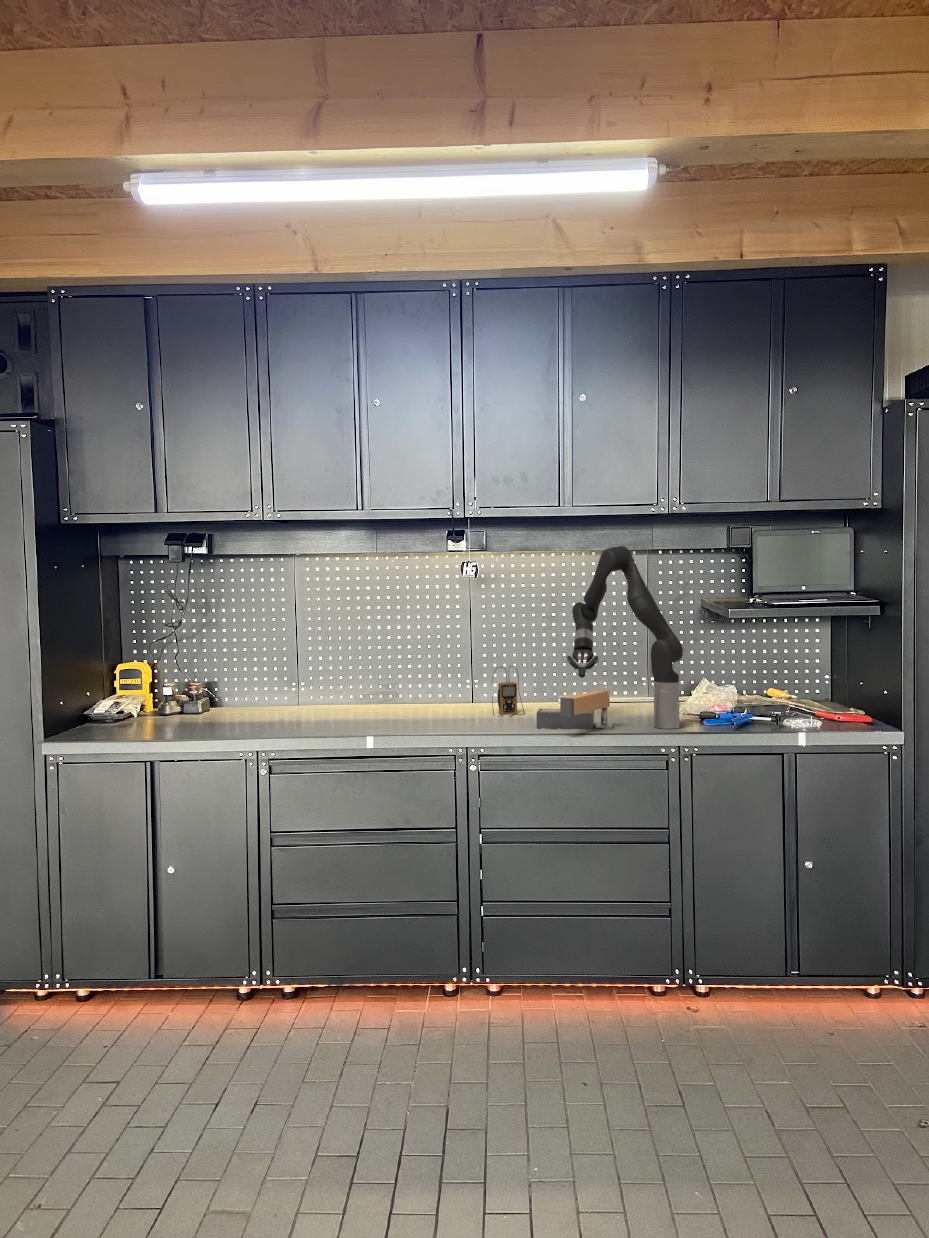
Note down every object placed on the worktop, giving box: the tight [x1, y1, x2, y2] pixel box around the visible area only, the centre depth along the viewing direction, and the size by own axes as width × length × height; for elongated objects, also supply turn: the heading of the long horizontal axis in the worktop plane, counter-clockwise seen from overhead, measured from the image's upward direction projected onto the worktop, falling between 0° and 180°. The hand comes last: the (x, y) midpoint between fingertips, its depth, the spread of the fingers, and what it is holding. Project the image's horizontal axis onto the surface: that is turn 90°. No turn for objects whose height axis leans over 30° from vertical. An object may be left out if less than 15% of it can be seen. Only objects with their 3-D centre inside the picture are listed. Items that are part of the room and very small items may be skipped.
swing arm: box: [559, 689, 611, 717], centre depth 336 cm, size 29×4×6 cm, turn 141°
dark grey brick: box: [536, 708, 595, 730], centre depth 349 cm, size 21×10×6 cm, turn 79°
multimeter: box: [491, 665, 526, 717], centre depth 377 cm, size 15×10×20 cm
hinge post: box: [595, 707, 614, 730], centre depth 346 cm, size 6×6×8 cm
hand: (581, 676), depth 358 cm, fingers closed
